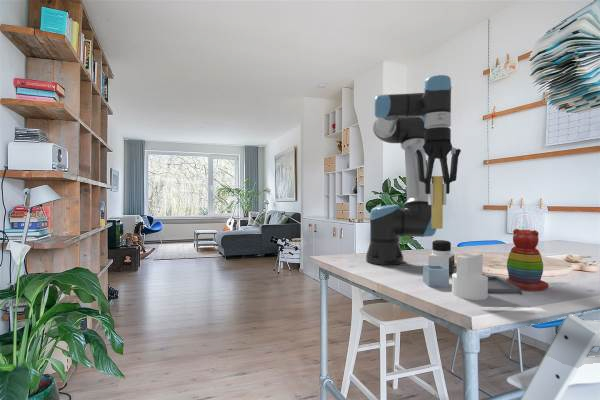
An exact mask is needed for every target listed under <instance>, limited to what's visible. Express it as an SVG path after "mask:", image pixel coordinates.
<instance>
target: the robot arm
mask: <svg viewBox="0 0 600 400" xmlns="http://www.w3.org/2000/svg"><path fill="white" fill-rule="evenodd" d="M451 80H452V79H451V77H450V76H448V75H444V74H441V75H440V74H439V75H431V76H430V77H427V78H426V79H425V81H424V87H423V90H424V92H413V93H395V94H393V93H391V94H388V93H386V94H381V95H380V94H379V95H377V96H375V97H374V117H376V119H375V121H374V123H373V128H372V129H373V130H372V131H373V134H374V135H375V136H376V137H377V139H378V140H381V141H383V142H384V143H389V144H400V148H401V149H402V150H404V163H405V164H404V165H405V185H406V202H404V203H403V207H402V208H401V207H400V205H399V204H386V205H380V206H376V207H372V209H371V210H370V217H369V220H370V229H369V231H370V233H369V234H370V235H369V238H370V239H369V241H370V242H369V245H368V248H367V252H366V255H365V261H366V262H367V263H370V264H372V265H373V264H374V265H383V266H392V265H393V266H394V265H395V266H396V265H401V264H403V263H404V254H403V252H402V249H401V246H400V237H409V238H410V237H421V238H425V237H433V236H434V235H435V234H436V231H437V229H435V228H431V217H432V205H433V184H432V176H433V171H434V170H433V169H434V166H435V165H434V164H435V160H436V159H438V160H439V163H440V168H441V173H442V174H441V176H443V206H447V195H449V194H450V184H451V183H453V182H455V181H457V175H458V174H457V173H458V164H459V156H460V154H461V151H462V149H460V148H456V147H453V144H452V142H451V140H452V138H451V137H452V135H451V133H452V129H451V128H450V127H451V126H452V122H451V121H452V114H451V112H452V111H451V110H452V89H453V88H452V81H451ZM450 152H451V153H450ZM449 153H450V155H451V160H450V169H449V166H448V157H447V156H448V154H449ZM426 156H427V157H428V159H427V157H426Z"/></svg>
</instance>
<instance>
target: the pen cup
mask: <svg viewBox="0 0 600 400" xmlns="http://www.w3.org/2000/svg"><path fill="white" fill-rule="evenodd" d="M422 282H423V283H424V284H426V286H427V287H435V288H438V287H439V288H441V287H442V288H444V287H445V288H448V287H450V275H449V269H447V268H446V267H444V266H443V265H428V264H423V265H422Z"/></svg>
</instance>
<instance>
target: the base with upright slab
mask: <svg viewBox="0 0 600 400" xmlns="http://www.w3.org/2000/svg"><path fill="white" fill-rule="evenodd" d="M483 257H484V255H483V253H479V252H469V253H465V254H461V255H456V272H453V273H452V274H451V294H452V295H453V296H455V297H458V298H460V299H464V300H471V301H481V300H486V299H488V295H489V293H488V278H487V277H486V276H487V275H483V268H484V266H483V261H484V260H483Z"/></svg>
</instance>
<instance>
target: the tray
mask: <svg viewBox="0 0 600 400" xmlns="http://www.w3.org/2000/svg"><path fill="white" fill-rule="evenodd" d="M485 276H486V277H487V278H488V294H519V295H520V296H522V295H523V290H522V289H521V288H519V287H517V286H515V285H513V284H511V283H509V282H507V280H506V279H503V278H501V277H500V276H498V275H485Z"/></svg>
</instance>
